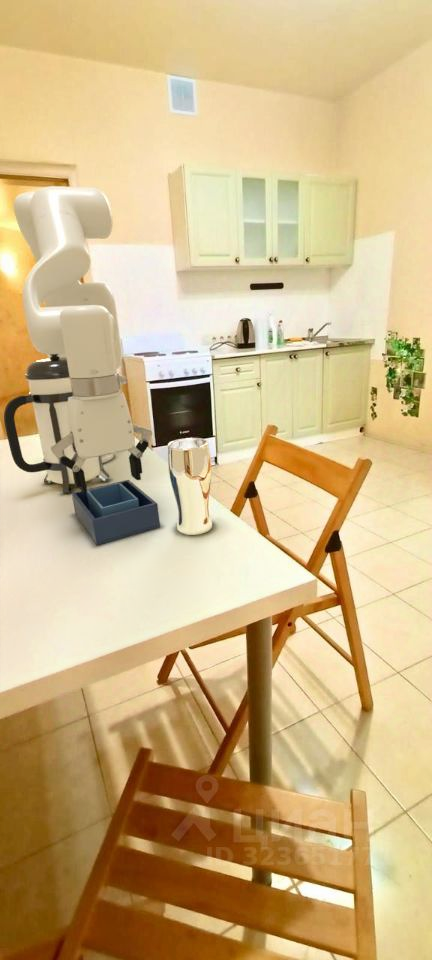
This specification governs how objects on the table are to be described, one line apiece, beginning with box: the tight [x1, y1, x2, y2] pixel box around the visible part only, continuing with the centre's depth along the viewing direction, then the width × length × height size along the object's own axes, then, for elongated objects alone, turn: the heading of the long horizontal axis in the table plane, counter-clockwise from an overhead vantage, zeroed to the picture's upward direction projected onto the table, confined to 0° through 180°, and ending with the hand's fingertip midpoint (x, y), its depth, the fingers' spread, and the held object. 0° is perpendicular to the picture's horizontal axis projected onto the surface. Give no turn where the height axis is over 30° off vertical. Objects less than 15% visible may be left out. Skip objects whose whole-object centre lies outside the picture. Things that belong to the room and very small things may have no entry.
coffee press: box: [3, 354, 111, 494], centre depth 96 cm, size 17×16×30 cm
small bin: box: [87, 482, 139, 519], centre depth 81 cm, size 10×6×4 cm, turn 30°
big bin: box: [71, 479, 161, 546], centre depth 81 cm, size 15×11×4 cm
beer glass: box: [167, 437, 213, 536], centre depth 74 cm, size 7×7×15 cm
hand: (110, 484), depth 79 cm, fingers open, 9 cm apart
